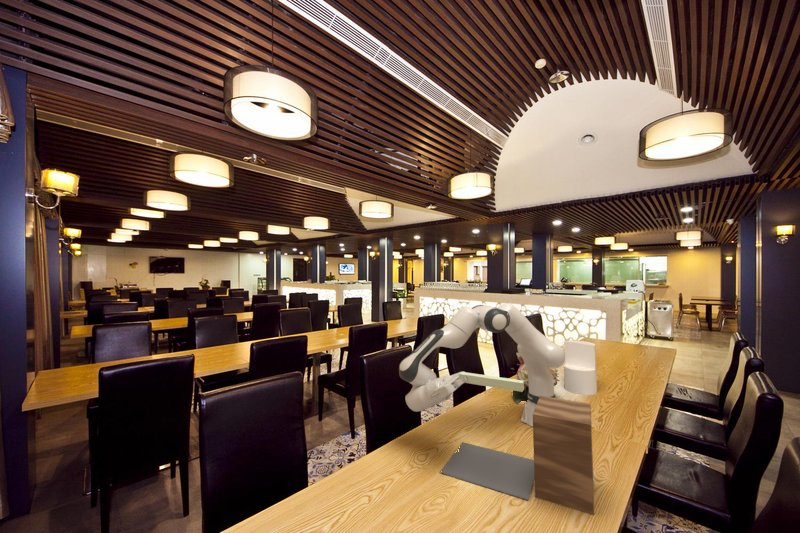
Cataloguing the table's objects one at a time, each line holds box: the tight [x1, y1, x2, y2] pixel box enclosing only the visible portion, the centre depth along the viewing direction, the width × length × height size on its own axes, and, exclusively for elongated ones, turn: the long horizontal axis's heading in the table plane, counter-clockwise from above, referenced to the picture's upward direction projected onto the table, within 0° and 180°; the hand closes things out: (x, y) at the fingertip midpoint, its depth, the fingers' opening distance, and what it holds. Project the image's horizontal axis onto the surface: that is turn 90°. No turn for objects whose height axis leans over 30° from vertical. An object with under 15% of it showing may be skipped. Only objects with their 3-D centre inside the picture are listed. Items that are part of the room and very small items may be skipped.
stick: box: [459, 371, 524, 392], centre depth 120 cm, size 3×23×3 cm, turn 60°
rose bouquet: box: [510, 351, 560, 404], centre depth 186 cm, size 26×29×30 cm
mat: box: [439, 441, 535, 502], centre depth 119 cm, size 24×30×1 cm
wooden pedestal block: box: [532, 396, 595, 516], centre depth 107 cm, size 18×16×26 cm
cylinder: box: [563, 340, 598, 396], centre depth 197 cm, size 17×17×28 cm
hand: (468, 376), depth 124 cm, fingers closed on stick, 3 cm apart
